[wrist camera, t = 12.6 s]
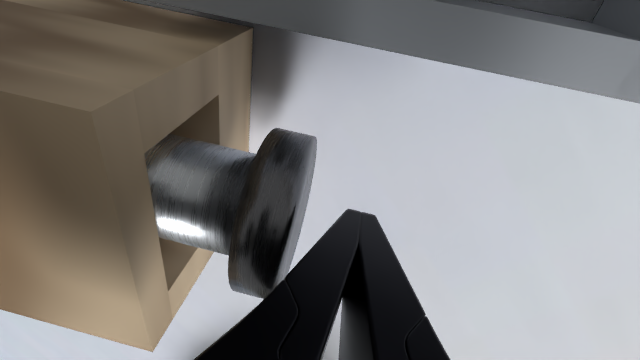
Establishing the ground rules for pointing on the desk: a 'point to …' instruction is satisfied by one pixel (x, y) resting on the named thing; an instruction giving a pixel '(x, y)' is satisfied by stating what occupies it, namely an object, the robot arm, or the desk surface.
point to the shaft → (235, 202)
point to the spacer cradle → (469, 36)
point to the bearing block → (105, 155)
